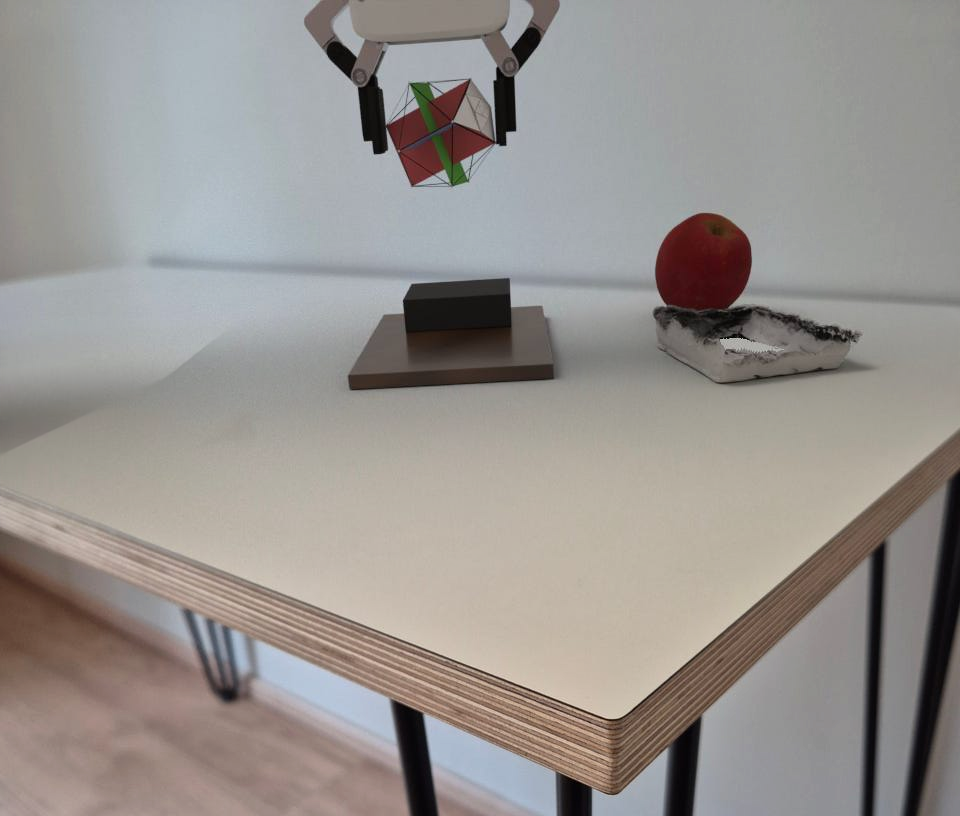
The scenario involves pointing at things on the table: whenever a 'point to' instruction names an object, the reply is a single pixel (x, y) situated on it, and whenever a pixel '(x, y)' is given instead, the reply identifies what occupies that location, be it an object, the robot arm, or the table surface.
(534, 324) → the assembly board
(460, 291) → the black block
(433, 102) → the geometric puzzle
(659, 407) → the table surface
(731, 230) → the apple
